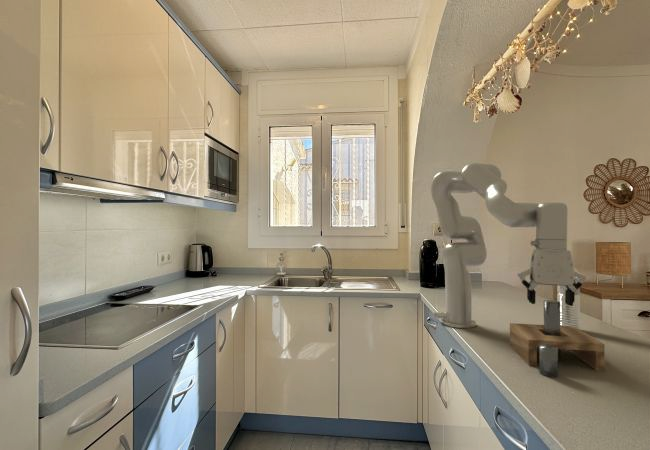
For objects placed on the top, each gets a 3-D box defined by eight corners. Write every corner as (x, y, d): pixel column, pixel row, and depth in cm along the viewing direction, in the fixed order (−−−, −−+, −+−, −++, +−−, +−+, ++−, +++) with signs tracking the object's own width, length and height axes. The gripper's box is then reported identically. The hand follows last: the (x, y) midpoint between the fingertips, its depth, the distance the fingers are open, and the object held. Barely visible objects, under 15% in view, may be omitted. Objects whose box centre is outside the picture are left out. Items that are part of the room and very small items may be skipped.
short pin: (543, 376, 86) (543, 349, 86) (536, 370, 90) (536, 343, 90) (561, 378, 85) (560, 350, 85) (553, 371, 89) (553, 344, 89)
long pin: (547, 358, 97) (546, 302, 97) (541, 353, 101) (541, 299, 101) (563, 359, 96) (562, 303, 96) (556, 354, 100) (556, 300, 100)
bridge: (528, 365, 93) (528, 339, 93) (510, 345, 108) (509, 323, 108) (604, 370, 89) (604, 344, 89) (574, 349, 104) (573, 326, 104)
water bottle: (558, 330, 123) (558, 261, 123) (556, 325, 129) (555, 259, 129) (582, 333, 120) (581, 262, 120) (578, 328, 126) (577, 260, 126)
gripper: (522, 245, 97) (522, 305, 97) (592, 246, 93) (591, 308, 94) (514, 243, 104) (513, 299, 105) (578, 244, 101) (577, 302, 101)
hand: (550, 303), depth 99 cm, fingers open, 9 cm apart
